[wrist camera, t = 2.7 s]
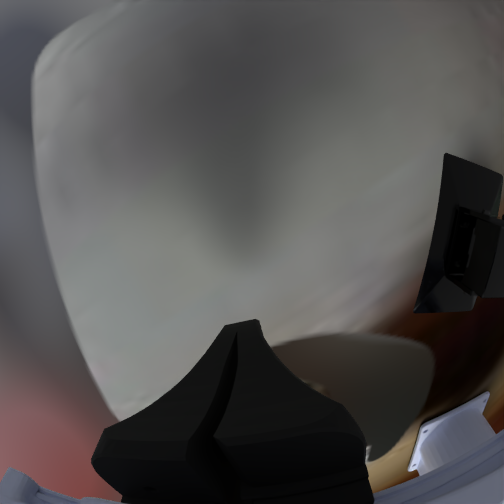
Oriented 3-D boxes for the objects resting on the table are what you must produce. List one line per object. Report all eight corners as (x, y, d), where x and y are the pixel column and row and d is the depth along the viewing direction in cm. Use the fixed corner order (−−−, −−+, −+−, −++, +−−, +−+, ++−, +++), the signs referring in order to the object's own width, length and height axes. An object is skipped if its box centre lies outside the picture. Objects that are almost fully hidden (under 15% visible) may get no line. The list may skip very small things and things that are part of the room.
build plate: (466, 325, 17) (500, 360, 12) (387, 329, 17) (418, 376, 12) (506, 155, 13) (555, 163, 8) (426, 123, 13) (481, 119, 8)
